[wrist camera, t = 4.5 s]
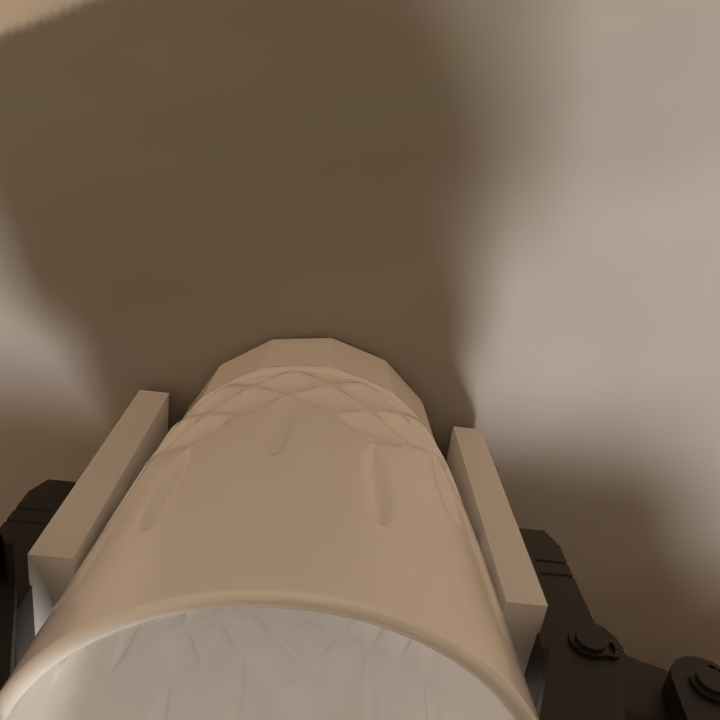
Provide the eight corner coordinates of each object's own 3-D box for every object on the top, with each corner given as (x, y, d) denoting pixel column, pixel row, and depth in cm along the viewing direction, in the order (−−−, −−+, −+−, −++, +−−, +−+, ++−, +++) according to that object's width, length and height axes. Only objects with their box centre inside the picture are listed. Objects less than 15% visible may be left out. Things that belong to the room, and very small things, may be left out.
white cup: (338, 605, 20) (328, 1039, 11) (110, 473, 18) (-130, 865, 9) (512, 423, 18) (682, 780, 9) (271, 249, 16) (166, 473, 7)
